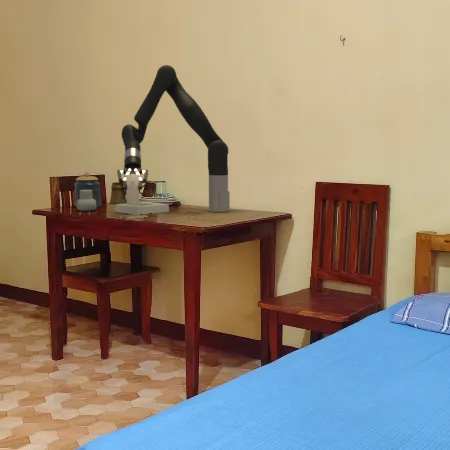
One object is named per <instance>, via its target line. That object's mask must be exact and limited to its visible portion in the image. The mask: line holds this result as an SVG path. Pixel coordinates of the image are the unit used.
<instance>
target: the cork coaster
mask: <svg viewBox="0 0 450 450" xmlns="http://www.w3.org/2000/svg"><path fill="white" fill-rule="evenodd" d="M118 217H119V218H122V219H127V220H128V219H129V220H136V218H137V219H145V218H144V217H147V218H149V215H146V214H142V215H138V214H125V215H119V216H118Z"/></svg>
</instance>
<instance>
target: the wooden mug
mask: <svg viewBox="0 0 450 450" xmlns="http://www.w3.org/2000/svg"><path fill="white" fill-rule="evenodd" d="M124 177H125V175H124V176H123V178H122V179H124ZM110 188H111V192H110V200H109V204H110V205H115V204H125V203H126V190H125V189H123V183H119V181H117V182H112V183H111V187H110Z"/></svg>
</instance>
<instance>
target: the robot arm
mask: <svg viewBox="0 0 450 450" xmlns="http://www.w3.org/2000/svg"><path fill="white" fill-rule="evenodd" d="M150 87H151V88H150V89H149V91H148V93H147V95H146V96H145V98H144V99H143V101H142V103H141V104H140V106H139V109H138V110H137V111H136V113H135V115H134V117H133V119H134V122H135V123H136V124H137V127H135V125H132V124H129V123H128V124H126V125H124V126H123V127H122V130H121V139H122V142H123V145H124V160H123V161H124V162H123V165H124V166H123V169H122V170H120V169H117V171H116V174H117V178H118V182H119V183H123V189H125V190H126V174H139V191H141V190H142V189H143V184H147V182H148V177H149V170H148V169H145V170H143V169H142V154H141V152H142V151H141V143H142V142H143V141H144V138H145V135H146V131H147V127H148V125H149V123H150V121H151V120H152V118H153V116H154V114H155V112H156V109H157V107H158V105H159V104H160V101H161V98H162V97H163V95H164V93H165V92H166V94H167V95H168V96H169V97H170V98H171V99H172V101H173V103H174V104H175V106H176V108H177V110H178V111H179V113H180V115H181V116H182V118H183V119H184V121H185V122H186V123H187V125H188V126H189V127H190V128H191V130H193V132H194V133H196V134H197V136H198V137H199V138H200V139H201V141H202V142H203V143H204V145H205V147H206V149H207V169H208V212H211V213H212V212H213V213H214V212H215V213H225V212H230V210H231V209H230V201H231V200H230V198H231V197H230V191H229V167H228V166H229V165H228V162H229V161H228V156H229V155H228V154H229V147H228V144H227V143H226V142H224V140H223V139H222V138H221V136H219V134H217V132H216V130H215V129H214V127H212V124H211V122H210V121H209V118H208V117H207V116H206V114H205V112H204V111H203V110H202V108H201V106H200V105H199V104H198V102H196V100H195V99H194V98H193V97H192V96H191V95H190V94H189V93H188V92H187V91H186V89H185V88H184V86H183V85H182V84H181V82H180V80H179V78H178V76H177V72H176V70H175V68H174V67H172V65H169V64H168V65H167V64H165V65H161V66H160V67H159V68H158V69H157V72H156V75H155V77H154V80H153V82H152V85H151V86H150ZM123 174H124V176H125V177H124V176H123ZM142 174H143V178H142V176H141V175H142ZM122 176H123V178H124V179H123V178H122Z"/></svg>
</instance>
